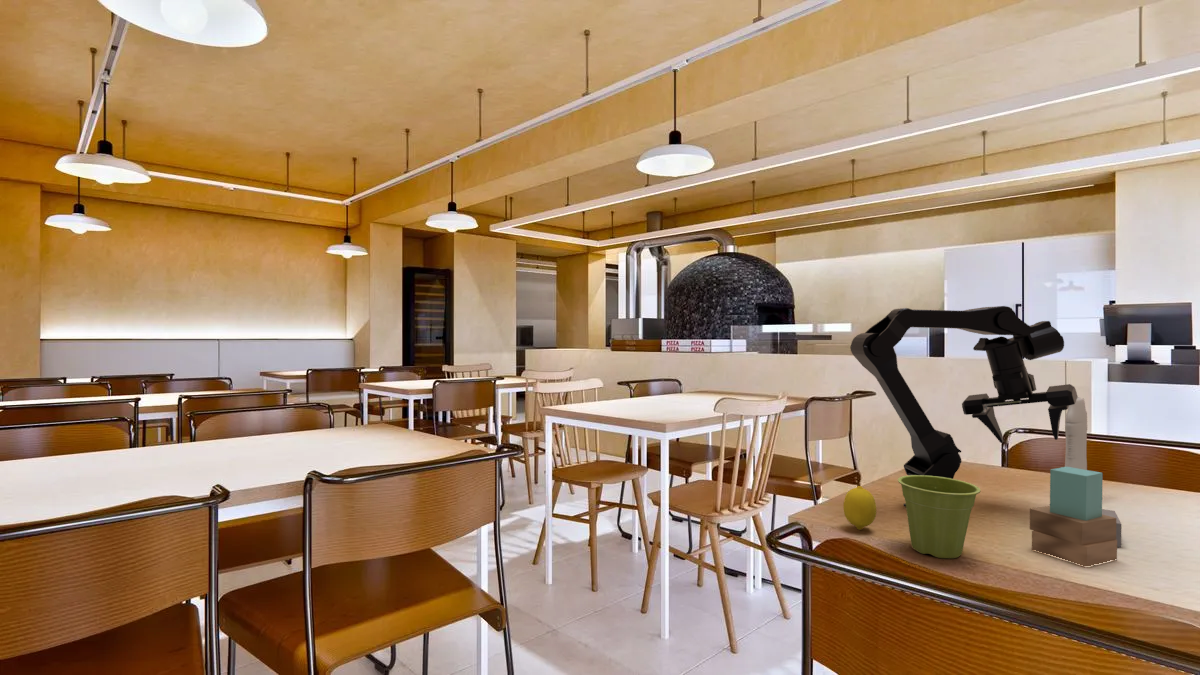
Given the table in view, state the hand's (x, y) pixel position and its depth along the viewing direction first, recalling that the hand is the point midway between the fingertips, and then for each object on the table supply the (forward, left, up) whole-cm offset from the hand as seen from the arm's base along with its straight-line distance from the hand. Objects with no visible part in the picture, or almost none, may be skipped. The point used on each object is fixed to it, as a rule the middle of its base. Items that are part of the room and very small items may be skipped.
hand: (1028, 440), depth 120 cm
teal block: (-14, -21, -8) cm, 27 cm away
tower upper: (-14, -21, -11) cm, 27 cm away
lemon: (-41, -4, -14) cm, 43 cm away
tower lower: (-14, -21, -15) cm, 29 cm away
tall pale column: (+20, +7, -14) cm, 26 cm away
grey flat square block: (-3, -14, -14) cm, 20 cm away
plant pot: (-35, -16, -15) cm, 41 cm away
